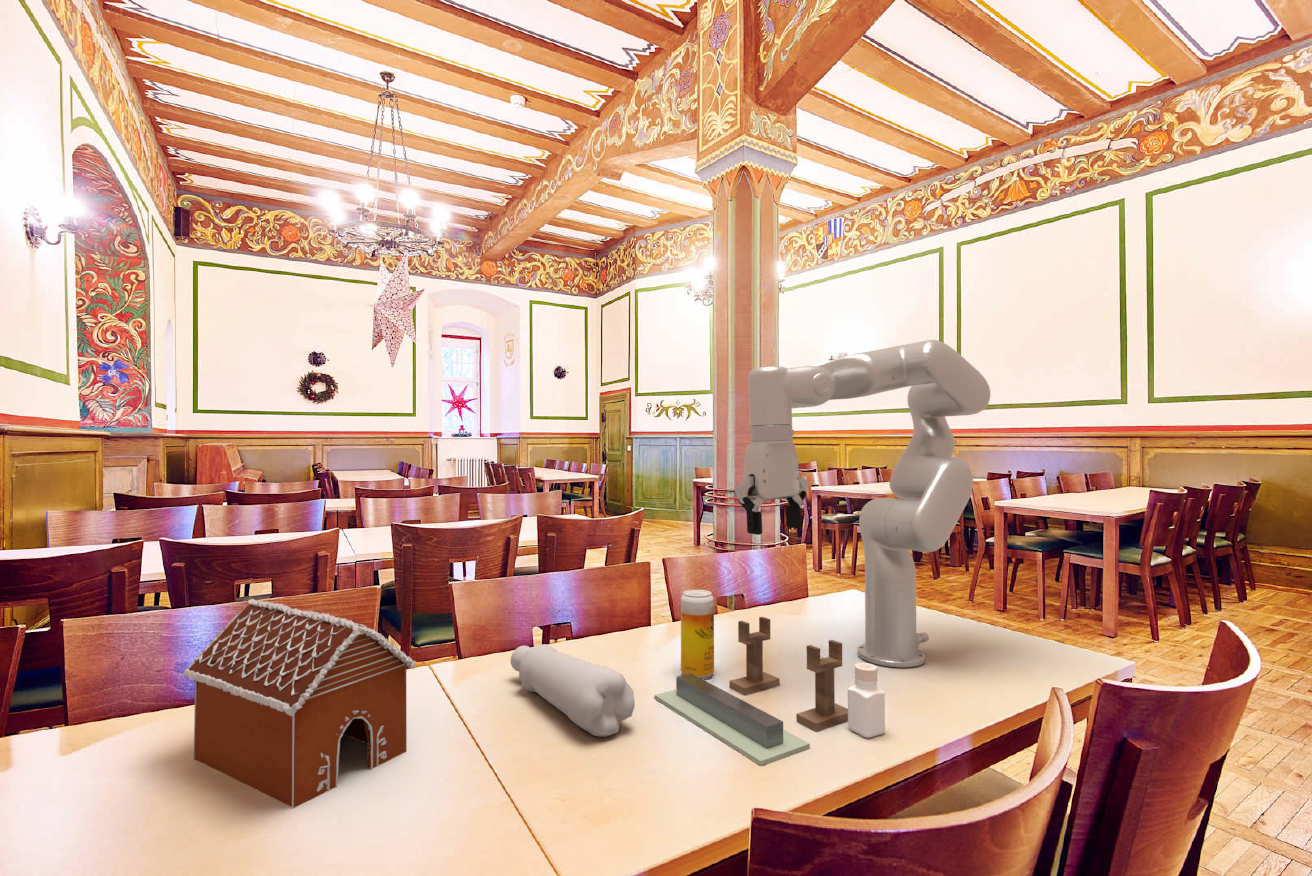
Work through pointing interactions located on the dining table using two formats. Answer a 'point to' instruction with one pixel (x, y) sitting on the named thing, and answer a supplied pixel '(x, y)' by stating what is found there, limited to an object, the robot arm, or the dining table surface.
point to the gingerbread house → (296, 699)
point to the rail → (731, 710)
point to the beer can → (697, 633)
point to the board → (732, 732)
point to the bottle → (576, 687)
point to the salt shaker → (866, 702)
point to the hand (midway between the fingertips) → (774, 530)
